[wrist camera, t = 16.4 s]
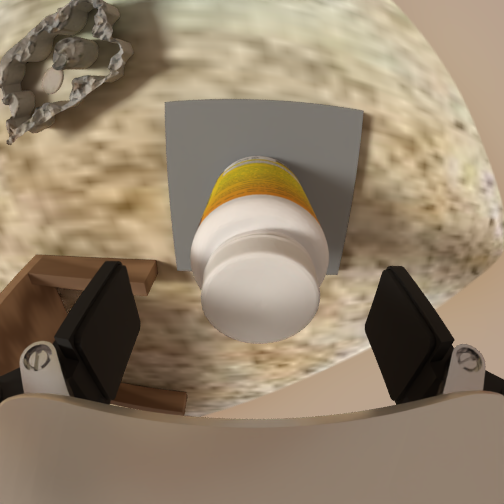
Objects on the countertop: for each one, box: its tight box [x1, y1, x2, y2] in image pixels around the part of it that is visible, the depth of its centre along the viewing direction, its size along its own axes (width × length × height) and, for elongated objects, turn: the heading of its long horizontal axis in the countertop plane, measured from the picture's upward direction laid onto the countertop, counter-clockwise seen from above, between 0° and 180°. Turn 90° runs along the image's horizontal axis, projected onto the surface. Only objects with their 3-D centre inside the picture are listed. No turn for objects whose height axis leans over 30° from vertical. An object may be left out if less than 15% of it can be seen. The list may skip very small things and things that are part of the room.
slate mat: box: [165, 99, 364, 275], centre depth 18 cm, size 12×12×1 cm
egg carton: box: [0, 0, 134, 145], centre depth 12 cm, size 11×8×4 cm
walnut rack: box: [0, 255, 187, 416], centre depth 20 cm, size 20×13×16 cm, turn 178°
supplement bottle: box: [190, 156, 329, 344], centre depth 14 cm, size 6×6×10 cm
